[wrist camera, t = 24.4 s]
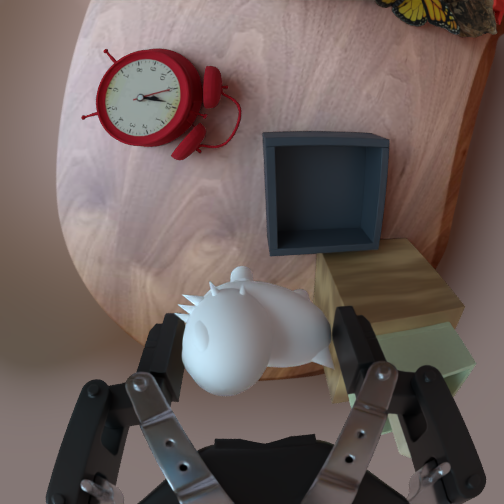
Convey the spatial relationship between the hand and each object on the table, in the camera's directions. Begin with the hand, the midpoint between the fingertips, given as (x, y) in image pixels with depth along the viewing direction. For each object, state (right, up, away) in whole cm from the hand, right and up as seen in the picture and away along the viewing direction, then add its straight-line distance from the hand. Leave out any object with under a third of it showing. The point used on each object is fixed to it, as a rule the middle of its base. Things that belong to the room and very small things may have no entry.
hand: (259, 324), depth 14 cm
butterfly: (+16, +32, +3) cm, 36 cm away
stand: (+14, 0, +23) cm, 27 cm away
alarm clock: (-9, +19, +12) cm, 24 cm away
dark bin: (+7, +11, +17) cm, 21 cm away
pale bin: (+14, -7, +11) cm, 19 cm away
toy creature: (0, +1, +2) cm, 2 cm away
